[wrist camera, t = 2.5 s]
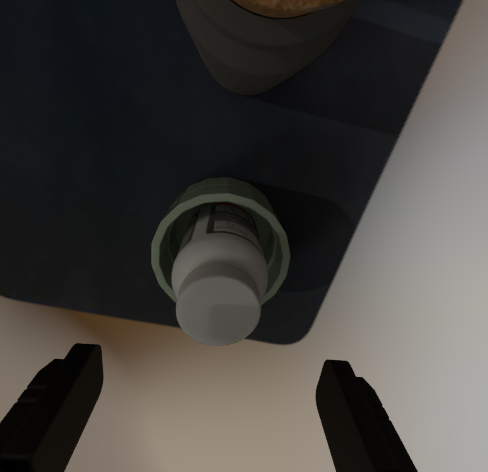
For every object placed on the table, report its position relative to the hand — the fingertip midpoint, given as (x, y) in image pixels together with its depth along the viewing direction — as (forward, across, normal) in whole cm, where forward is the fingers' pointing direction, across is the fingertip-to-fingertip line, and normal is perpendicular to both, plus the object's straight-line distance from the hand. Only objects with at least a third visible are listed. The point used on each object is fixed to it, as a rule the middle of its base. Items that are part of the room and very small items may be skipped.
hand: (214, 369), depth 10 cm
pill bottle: (+13, 0, 0) cm, 13 cm away
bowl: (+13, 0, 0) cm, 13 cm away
